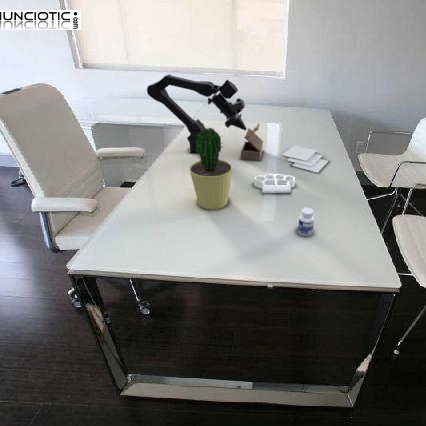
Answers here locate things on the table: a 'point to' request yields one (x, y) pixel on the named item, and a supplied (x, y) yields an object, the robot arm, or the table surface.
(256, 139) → the lid
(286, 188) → the white brass knuckles
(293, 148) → the paper stack
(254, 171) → the table surface
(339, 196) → the table surface
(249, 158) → the box
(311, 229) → the pill bottle
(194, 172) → the potted cactus
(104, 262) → the table surface
